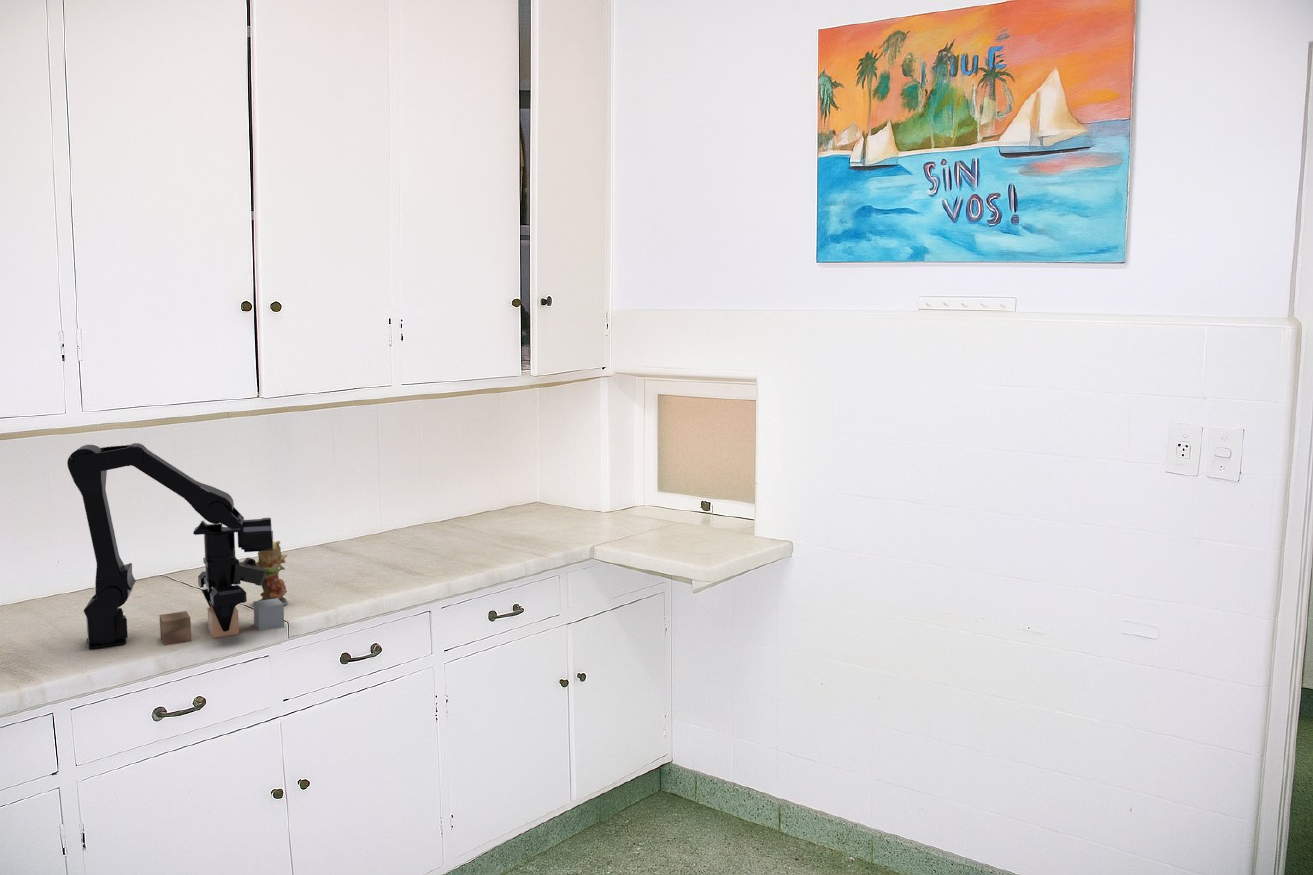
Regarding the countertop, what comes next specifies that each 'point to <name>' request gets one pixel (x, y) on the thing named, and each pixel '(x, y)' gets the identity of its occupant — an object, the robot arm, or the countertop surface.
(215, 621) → the terracotta cube
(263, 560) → the figurine
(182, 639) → the walnut cube
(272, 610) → the slate cube
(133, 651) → the countertop surface
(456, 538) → the countertop surface
